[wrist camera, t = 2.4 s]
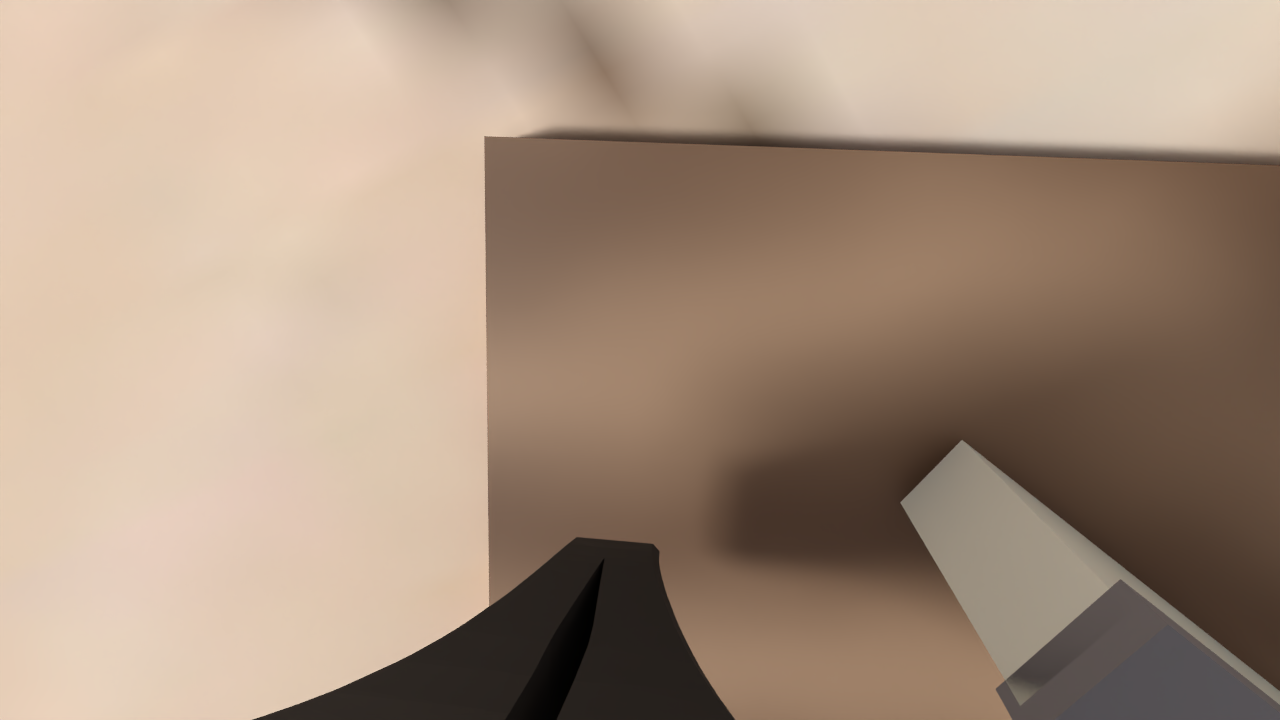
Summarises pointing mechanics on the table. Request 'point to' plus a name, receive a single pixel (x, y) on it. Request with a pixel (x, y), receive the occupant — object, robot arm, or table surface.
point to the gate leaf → (1070, 611)
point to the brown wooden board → (879, 392)
